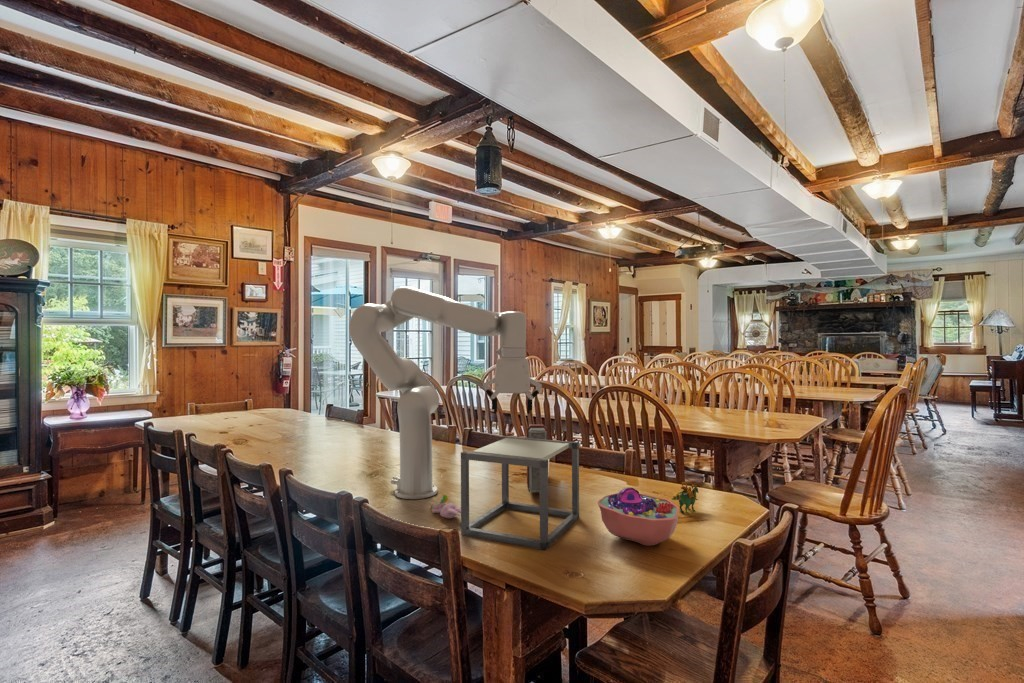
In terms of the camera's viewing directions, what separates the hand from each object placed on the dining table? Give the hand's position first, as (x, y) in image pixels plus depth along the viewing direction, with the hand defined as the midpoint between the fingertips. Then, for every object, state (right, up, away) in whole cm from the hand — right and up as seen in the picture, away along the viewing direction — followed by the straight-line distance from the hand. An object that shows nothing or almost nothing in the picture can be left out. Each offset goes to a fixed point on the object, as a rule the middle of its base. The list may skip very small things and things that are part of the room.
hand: (512, 412), depth 153 cm
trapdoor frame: (+3, -25, -23) cm, 34 cm away
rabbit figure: (-17, -25, -17) cm, 35 cm away
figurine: (+46, -25, -14) cm, 54 cm away
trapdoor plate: (+3, -7, -23) cm, 24 cm away
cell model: (+29, -25, -33) cm, 50 cm away
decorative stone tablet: (+8, -25, +13) cm, 29 cm away
